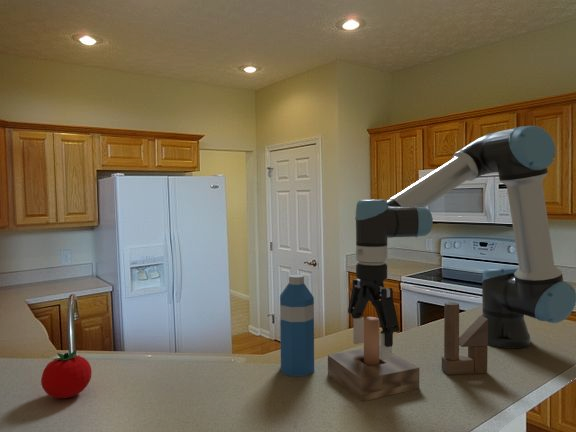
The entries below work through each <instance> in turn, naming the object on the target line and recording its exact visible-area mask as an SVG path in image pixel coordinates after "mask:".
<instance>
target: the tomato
mask: <svg viewBox="0 0 576 432" xmlns="http://www.w3.org/2000/svg"><path fill="white" fill-rule="evenodd" d="M76 353H77V350H74V351H73V352H71V353H69V352H65V353H63V354H62V353H59V352H57V355H58V357H56V358H54V359H52V360H51V361H49V362H48V363H47V364H46V366H45V368H44V369H43V372H42V374H41V379H40V384H41V388H42V389H43V391H44V392H45V393H46V395H48V396H50V397H52V398H54V399H55V398H56V399H69V398H72V397H75V396H76V395H78V394H80V393H82V391H84V390H85V389H86V388H87V386H88V385H89V383H90V382H91V379H92V373H93V371H92V366H91V364H90V362H89V361H88V360H87V359H86V358H85V357H83V356H81V354H80V355H76Z"/></svg>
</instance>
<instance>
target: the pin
mask: <svg viewBox="0 0 576 432" xmlns="http://www.w3.org/2000/svg"><path fill="white" fill-rule="evenodd" d="M363 318H364V343H363V349H364V364H366V365H367V366H374V365H379V346H380V321H379V318H378V317H374V316H365V317H363Z"/></svg>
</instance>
